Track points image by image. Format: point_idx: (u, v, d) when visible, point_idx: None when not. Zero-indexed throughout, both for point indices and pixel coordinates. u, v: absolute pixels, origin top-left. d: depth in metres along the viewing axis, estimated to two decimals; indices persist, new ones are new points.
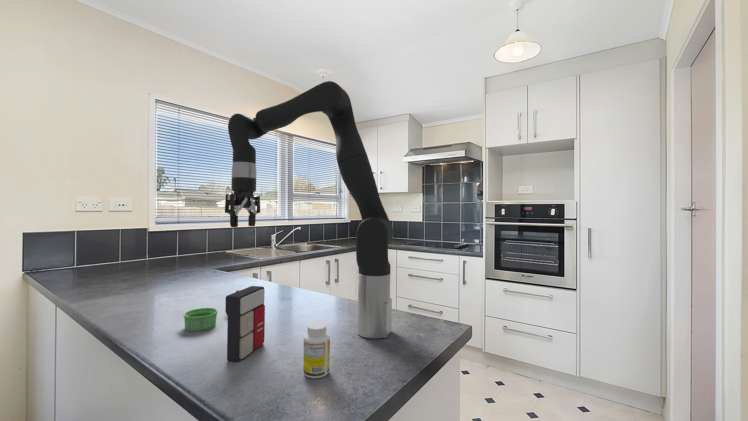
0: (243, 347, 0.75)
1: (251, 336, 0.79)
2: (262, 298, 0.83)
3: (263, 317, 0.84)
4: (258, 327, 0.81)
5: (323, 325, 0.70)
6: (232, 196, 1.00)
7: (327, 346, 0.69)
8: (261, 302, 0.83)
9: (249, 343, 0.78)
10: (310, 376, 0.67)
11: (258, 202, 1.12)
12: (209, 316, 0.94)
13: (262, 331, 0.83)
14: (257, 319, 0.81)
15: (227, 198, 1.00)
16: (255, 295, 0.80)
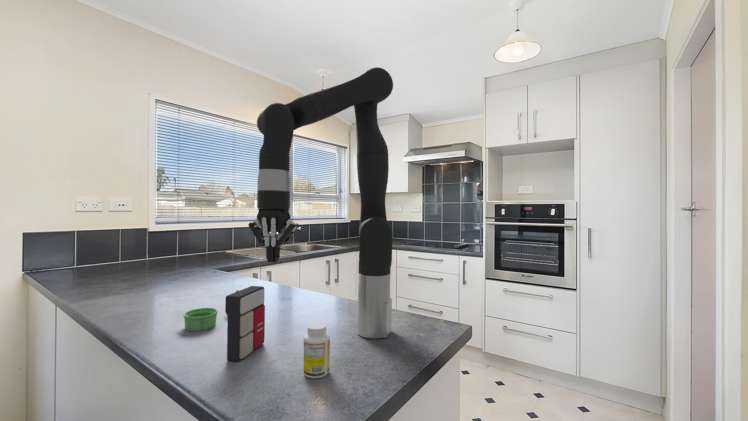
0: (243, 347, 0.75)
1: (251, 336, 0.79)
2: (262, 298, 0.83)
3: (263, 317, 0.84)
4: (258, 327, 0.81)
5: (323, 325, 0.70)
6: None
7: (327, 346, 0.69)
8: (261, 302, 0.83)
9: (249, 343, 0.78)
10: (310, 376, 0.67)
11: None
12: (209, 316, 0.94)
13: (262, 331, 0.83)
14: (257, 319, 0.81)
15: (292, 230, 0.76)
16: (255, 295, 0.80)
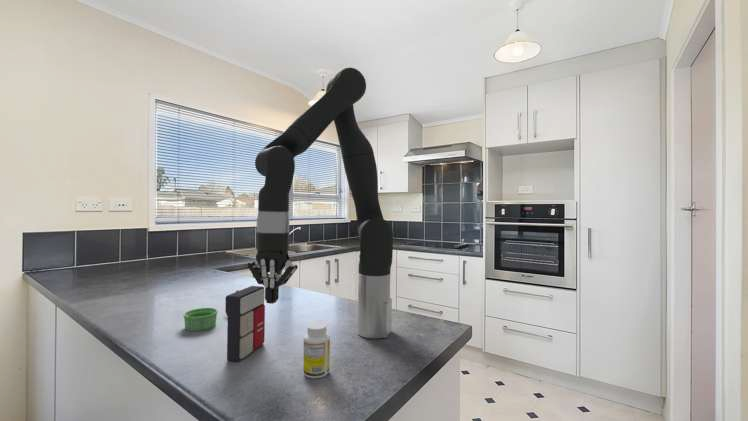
0: (243, 347, 0.75)
1: (251, 336, 0.79)
2: (262, 298, 0.83)
3: (263, 317, 0.84)
4: (258, 327, 0.81)
5: (323, 325, 0.70)
6: None
7: (327, 346, 0.69)
8: (261, 302, 0.83)
9: (249, 343, 0.78)
10: (310, 376, 0.67)
11: None
12: (209, 316, 0.94)
13: (262, 331, 0.83)
14: (257, 319, 0.81)
15: (291, 272, 0.76)
16: (255, 295, 0.80)
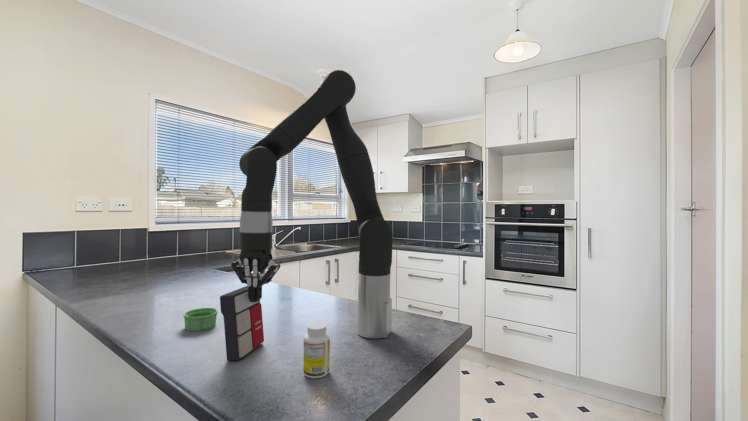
0: (242, 345, 0.75)
1: (249, 334, 0.79)
2: None
3: (260, 315, 0.84)
4: (256, 325, 0.82)
5: (323, 325, 0.70)
6: None
7: (327, 346, 0.69)
8: None
9: (247, 342, 0.78)
10: (310, 376, 0.67)
11: None
12: (209, 316, 0.94)
13: (261, 329, 0.83)
14: (254, 317, 0.81)
15: (273, 271, 0.77)
16: None
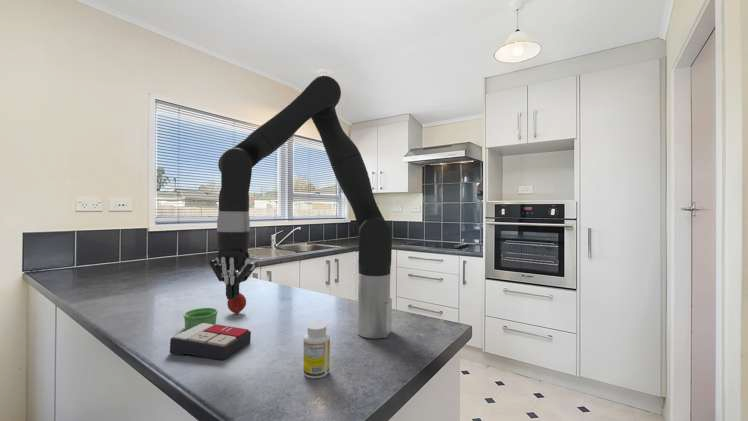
0: (216, 341, 0.77)
1: (220, 335, 0.80)
2: (207, 325, 0.87)
3: (224, 326, 0.86)
4: (224, 330, 0.83)
5: (323, 325, 0.70)
6: None
7: (327, 346, 0.69)
8: (209, 326, 0.86)
9: (223, 338, 0.79)
10: (310, 376, 0.67)
11: None
12: (209, 316, 0.94)
13: (235, 328, 0.85)
14: (216, 330, 0.83)
15: (250, 269, 0.79)
16: (193, 328, 0.84)
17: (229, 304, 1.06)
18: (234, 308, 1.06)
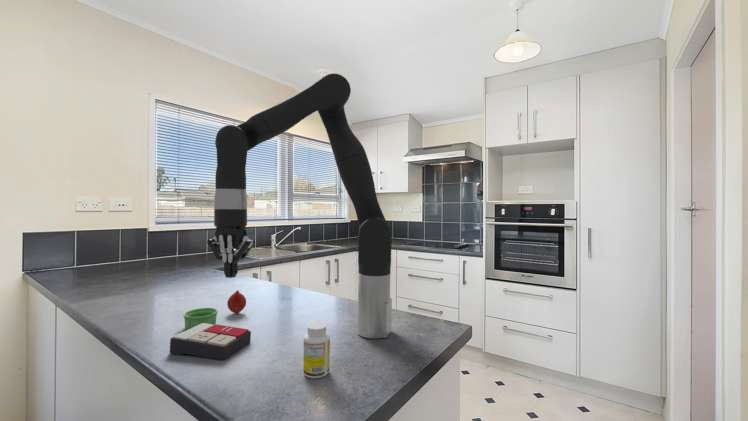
0: (216, 341, 0.77)
1: (220, 335, 0.80)
2: (207, 325, 0.87)
3: (224, 326, 0.86)
4: (224, 330, 0.83)
5: (323, 325, 0.70)
6: None
7: (327, 346, 0.69)
8: (209, 326, 0.86)
9: (223, 338, 0.79)
10: (310, 376, 0.67)
11: None
12: (209, 316, 0.94)
13: (235, 328, 0.85)
14: (216, 330, 0.83)
15: (248, 247, 0.79)
16: (193, 328, 0.84)
17: (229, 304, 1.06)
18: (234, 308, 1.06)
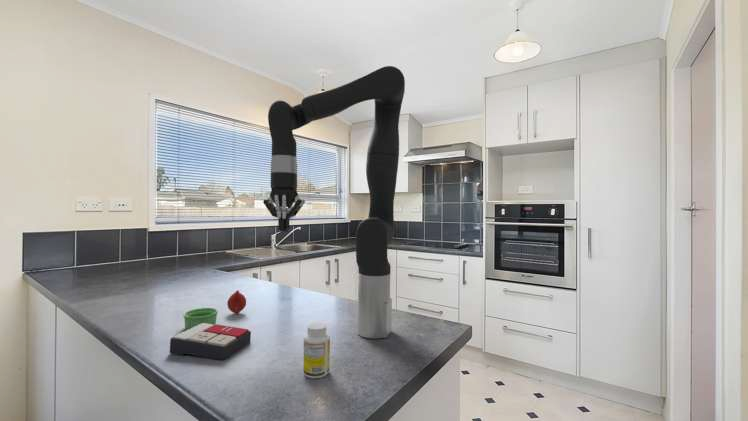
0: (216, 341, 0.77)
1: (220, 335, 0.80)
2: (207, 325, 0.87)
3: (224, 326, 0.86)
4: (224, 330, 0.83)
5: (323, 325, 0.70)
6: None
7: (327, 346, 0.69)
8: (209, 326, 0.86)
9: (223, 338, 0.79)
10: (310, 376, 0.67)
11: None
12: (209, 316, 0.94)
13: (235, 328, 0.85)
14: (216, 330, 0.83)
15: (299, 205, 0.93)
16: (193, 328, 0.84)
17: (229, 304, 1.06)
18: (234, 308, 1.06)
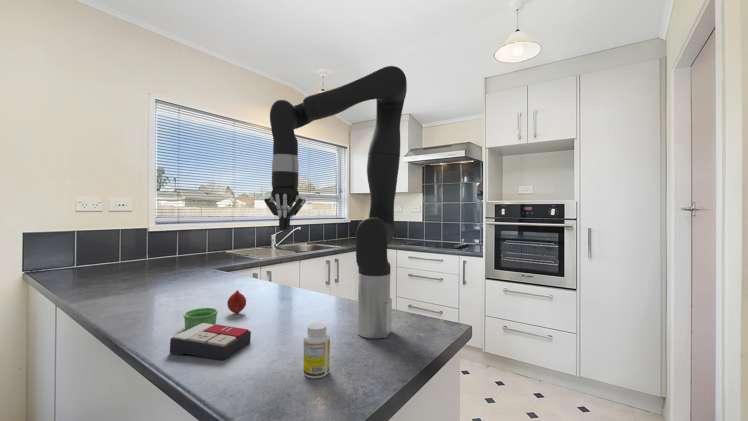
0: (216, 341, 0.77)
1: (220, 335, 0.80)
2: (207, 325, 0.87)
3: (224, 326, 0.86)
4: (224, 330, 0.83)
5: (323, 325, 0.70)
6: None
7: (327, 346, 0.69)
8: (209, 326, 0.86)
9: (223, 338, 0.79)
10: (310, 376, 0.67)
11: None
12: (209, 316, 0.94)
13: (235, 328, 0.85)
14: (216, 330, 0.83)
15: (300, 204, 0.93)
16: (193, 328, 0.84)
17: (229, 304, 1.06)
18: (234, 308, 1.06)
